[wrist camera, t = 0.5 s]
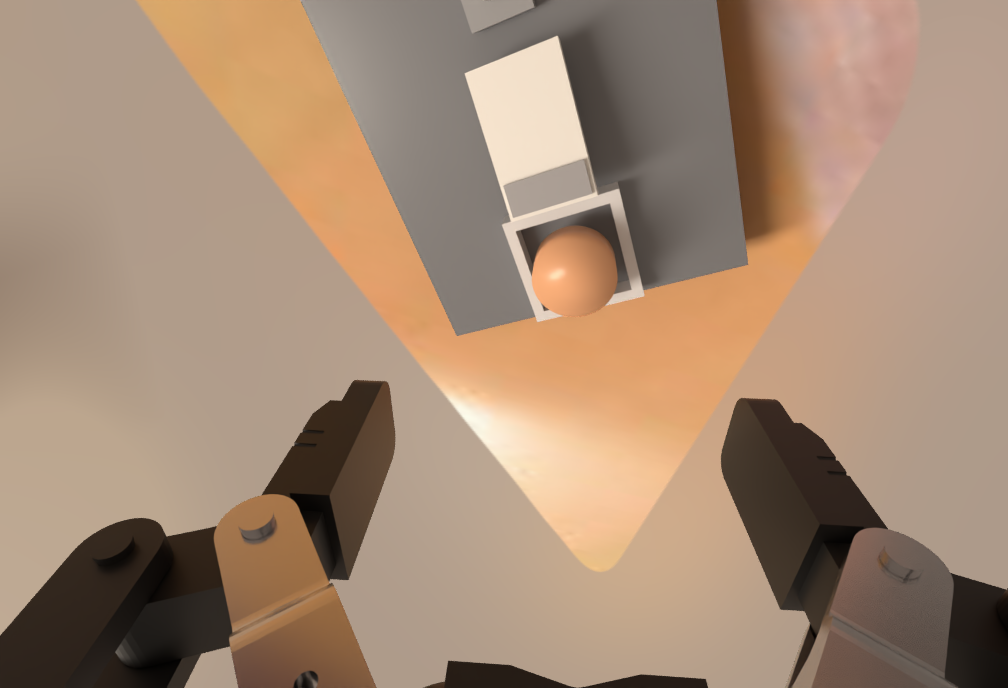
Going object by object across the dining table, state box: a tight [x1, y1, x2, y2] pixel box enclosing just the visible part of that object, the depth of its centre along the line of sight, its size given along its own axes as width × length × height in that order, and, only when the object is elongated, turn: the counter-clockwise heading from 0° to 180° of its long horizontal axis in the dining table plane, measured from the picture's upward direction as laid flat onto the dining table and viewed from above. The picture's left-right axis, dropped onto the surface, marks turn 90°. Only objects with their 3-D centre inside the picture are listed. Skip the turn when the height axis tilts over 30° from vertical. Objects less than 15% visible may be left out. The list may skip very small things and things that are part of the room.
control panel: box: [300, 0, 748, 336], centre depth 26 cm, size 18×26×4 cm
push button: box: [532, 226, 618, 317], centre depth 27 cm, size 4×4×2 cm
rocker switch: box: [465, 36, 598, 222], centre depth 24 cm, size 4×7×1 cm, turn 20°
